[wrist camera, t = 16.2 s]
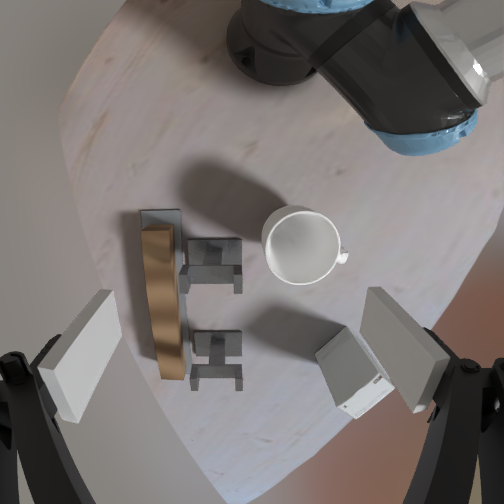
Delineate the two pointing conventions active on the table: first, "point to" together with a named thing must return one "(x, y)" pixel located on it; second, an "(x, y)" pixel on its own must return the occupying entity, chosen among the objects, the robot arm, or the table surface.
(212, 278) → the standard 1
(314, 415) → the table surface
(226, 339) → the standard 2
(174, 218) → the mat
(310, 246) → the mug
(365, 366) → the skincare box
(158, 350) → the rail
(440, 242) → the table surface
